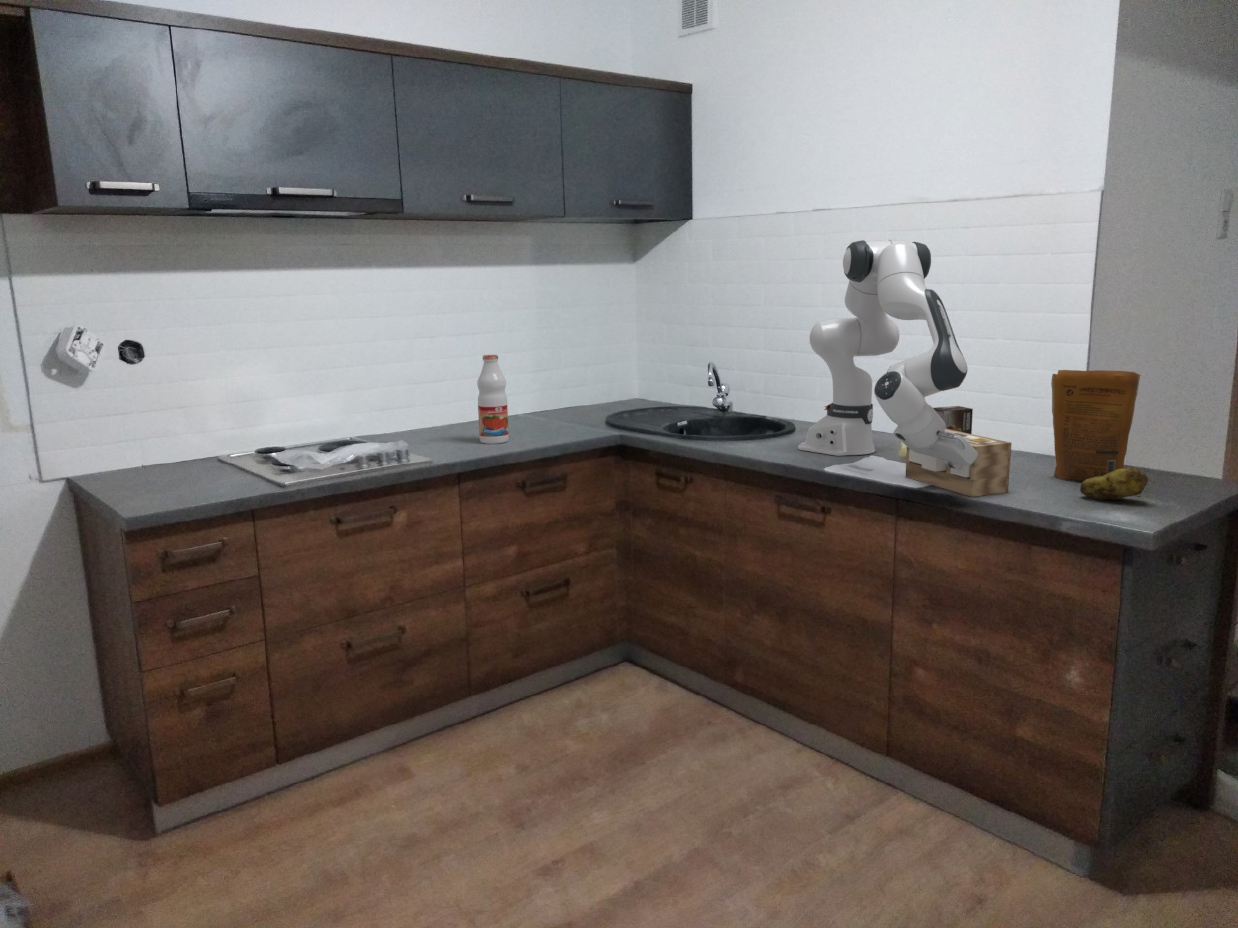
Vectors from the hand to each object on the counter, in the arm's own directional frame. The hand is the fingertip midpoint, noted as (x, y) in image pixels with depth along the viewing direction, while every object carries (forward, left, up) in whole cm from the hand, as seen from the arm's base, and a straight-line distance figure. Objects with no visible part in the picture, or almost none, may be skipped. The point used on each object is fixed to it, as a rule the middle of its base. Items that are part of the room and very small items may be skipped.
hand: (955, 466), depth 216 cm
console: (-3, +10, -7) cm, 12 cm away
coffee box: (-11, +30, -7) cm, 33 cm away
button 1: (-11, +13, -2) cm, 17 cm away
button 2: (+3, +4, -2) cm, 6 cm away
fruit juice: (-144, -11, -7) cm, 145 cm away
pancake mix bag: (+23, +31, -7) cm, 39 cm away
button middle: (-5, +7, -2) cm, 9 cm away
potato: (+31, +14, -7) cm, 35 cm away
